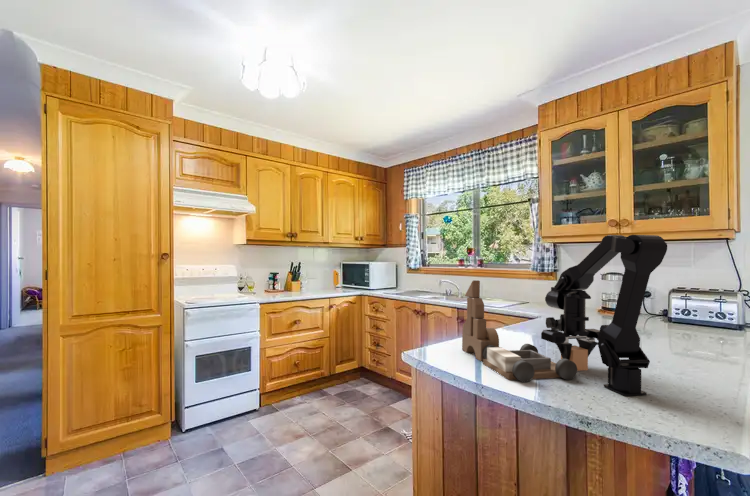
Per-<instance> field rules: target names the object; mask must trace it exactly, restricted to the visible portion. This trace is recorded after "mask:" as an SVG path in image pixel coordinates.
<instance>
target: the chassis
mask: <svg viewBox="0 0 750 496" xmlns="http://www.w3.org/2000/svg"><path fill="white" fill-rule="evenodd" d="M482 355H483V358H484V359H483V361H482V365H484V364H485V365H484V366H486V367H487V366H488V367H487V368H489V367H490V368H491V370H492V369H493V370H492V371H494V370H495V371H496V372H495V371H494V372H495V373H497V372H498V373H499V374H498V373H497V374H498V375H500V374H501V375H500V376H501V377H503V376H504V377H503V378H504V379H506V378H507V379H506V380H508V381H514V380H515V381H517V380H518V381H520V382H522V383H528V382H530V381H531V380H532V379H533V380H535V379H553V378H561V379H564V380H566V381H571V380H573V379H575V377H576V376H577V373H578V371H577V366H576V364H575V363H574V362H573V361H570V360H568V359H561V358H560V359H559V360H557V362H554V361H552V358H550V357H548V356H546V355H543V354H541V353H539V349H538V348H537V347H536V346H535V345H533V344H530V343H524V344H523V345H522V346H521V347H520V348H519V350H518V349H516V350H514V349H513V350H509V349H506V348H503V347H501V346H499V347H495V346H493V345H487V346H485V347H484V349H483V352H482ZM490 368H489V369H490Z"/></svg>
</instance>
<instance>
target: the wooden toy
mask: <svg viewBox="0 0 750 496" xmlns="http://www.w3.org/2000/svg"><path fill="white" fill-rule="evenodd" d="M480 288H481V281H480V280H472V281H471V283H470V285H469V286H468V289H467V291H466V292H465V294H464V296H465V297H466V300H467V301H466V319H465V322H464V323H462V333H461V334H462V335H461V339H462V341H461V342H462V343H461V350H462V351H463V352H465V353H468V354H469V353H470V352H471V353H474V354H475V359H476V360H477V361H479V360H480V361H479V362H481V361H482V362H483V359H484V358H483V355H482V352H483V349H484V347H485V346H487V345H493V346H495V347H500V338H499V333H498V332H497V330H496V328H495V327H487V318H485V304H484V301H483V299H482V298H481V295H480V294H481V290H480ZM471 353H470V354H471Z"/></svg>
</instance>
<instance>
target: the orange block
mask: <svg viewBox="0 0 750 496" xmlns="http://www.w3.org/2000/svg"><path fill="white" fill-rule="evenodd" d="M560 359H562V356H561V355H560ZM570 361H573V362H574V363H575V364H576V366H577V372H578V371H588V370H589V363H588V362H589V356H588V350H587V349H584V348H581V347H579V345H572V348H571V354H570Z"/></svg>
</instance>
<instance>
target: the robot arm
mask: <svg viewBox="0 0 750 496" xmlns="http://www.w3.org/2000/svg"><path fill="white" fill-rule="evenodd" d="M667 251H668V243H667V242H666V241H665V239H664V238H663V237H662V236H660V235H653V234H629V235H628V236H625V235H622V234H607V235H605V236H603V237H602V239H601V242H600V243H599V244H597V246H595V247H594V249H593V250H591V251H590V252H589V253H588V254H587V255H586V257H584V258H583V259H582V260H581V261H580V262H579V263H578V264H576V265H573V266H570V267H568V268H566V269H565V270H563V271H562V272H561V274H560V276H559V278H558V280H557V282H556V284H555V285H554V286H552V287H550V290H549V291H548V292H547V293H546V295H545V298H544V299H545V304H546V305H547V306H548V307H550V308H554V309H558V310H561V311H563V313H561V314H560V315H559V318H558V319H555V317H553V316H552V317H546V318H545V326H546V328H547V329H543V330H542V331H541V334H540V337H541V338H540V339H541V340H545V341H546V342H549V343H552V344H555V345H556V346H557V349H558V350H559V353H560V357H561V356H562V359H568V360H570V354H571V348H572V346H573V343H571V342H570V341H569V340H573V339H575V340H576V341H577V344H578V347H581V348H584V349H587V350H588V357H590V355H591V353H592V352H593V350H594V349H595V348H596V346H597V347H598V352H599V354H600V358H601V361H602V364H603V365H605V366H606V367H607V383H604V384H603V387H604V388H606V389H608V390H610V391H612V392H615V393H618V394H620V395H622V396H625V397H628V396H629V397H632V396H644V395H645V396H646V395H648V394H647V393H648V392H647V391H644V390H642V369H648V368H649V365H650V362H651V361H650V359H649V358H648V357H647V355H646V354H645V351H644V350H642V348H641V347H640V343H641V337H640V335H639V333H638V331H637V324H638V321H639V317H640V312H641V309H642V306H643V302H644V298H645V294H646V292H647V291H646V290H647V286H648V283H649V281H650V277H651V274H652V273H653V272H654V270H656V269H657V268H658V267H659V266H660V265H662V263H663V260H664V258H665V256H666V254H667ZM619 253H620V259H621V262H622V265H623V267H624V272H623V276H622V280H621V284H620V288H619V292H618V297H617V301H616V304H615V308H614V311H613V312H614V313H613V317H612V320H611V322H610V323H609V324H602V325H600V327H599V329H596V328H586V322H588V321H589V320H590V319H589V316H586V303H587V302H586V300H590V299H592V297H591V296H590V294H588V292H587V291H586V290H587V289H589V287H590V286H591V285H592V284H593V282H594V281H595V280H594V279H595V277H594V276H595V275H596V274H598V273H599V272H600V270H601V269H603V268H604V267H605V266H606V265H607V264H608V263H610V261H612V260H613V259H614V258H615V257H616V256H617V255H619ZM596 340H597V341H598V342H597V341H596Z"/></svg>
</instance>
